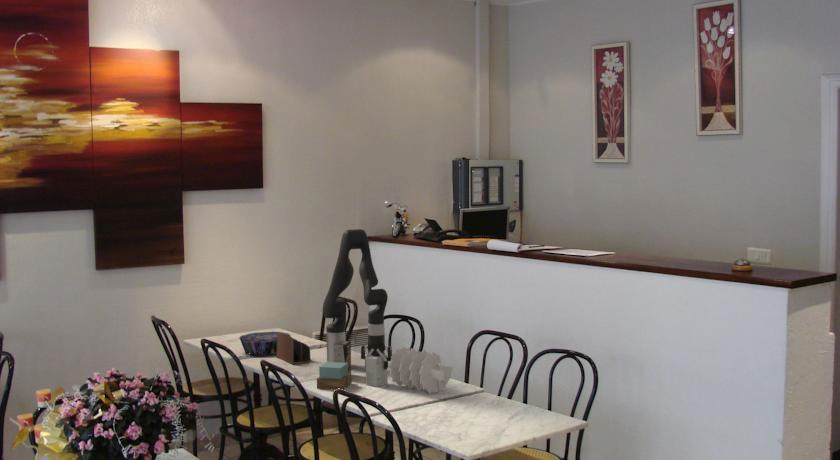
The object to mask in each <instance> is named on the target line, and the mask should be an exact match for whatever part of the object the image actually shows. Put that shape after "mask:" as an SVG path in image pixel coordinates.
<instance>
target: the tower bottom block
mask: <svg viewBox="0 0 840 460" xmlns="http://www.w3.org/2000/svg"><path fill="white" fill-rule="evenodd" d="M349 385H352V372H351V373H348V374H347V375H346V376H344V377H343V378H342V379H327V378H319V376H318V377H317V378H316V389H318V390H319V389H321V390H331V389H333V390H332V391H334V389H338V388H340V389H343V390H344V389H346V388H347V387H349Z"/></svg>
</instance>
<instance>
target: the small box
mask: <svg viewBox="0 0 840 460" xmlns="http://www.w3.org/2000/svg"><path fill="white" fill-rule="evenodd" d="M366 356H367V355H366ZM386 356H387V357H388V354H386ZM388 374H389V372H388V368H387V369H386V370H384V359H383V358H382V357H381V356H376V355H375V356H373V355H371V356H369V357H368V356H367V357H366V367H365V378H366V379H365V381H366V382H365V384H366V386H369V387H370V386H371V387H374V388H377V387H380V386H383V385H386V384H388V382H389V381H388V380H389V379H388V377H389V376H388Z"/></svg>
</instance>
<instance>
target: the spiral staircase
mask: <svg viewBox="0 0 840 460" xmlns="http://www.w3.org/2000/svg"><path fill="white" fill-rule="evenodd" d="M441 362H442V360H441V356H440V354H439V353H438V354H437V353H435V352H434V351H432V353H431V352H428V351H426V349H422V351H419V349H414V348H412V347H410V348H406V347H405V345H402V347H400V348H395V352H394V353H392V356H391V360H390V363H389V364H388V369H390V372H389V377H390V378H392V383H396V384H397V385H398V386H399V387H401V386H404V387H405V386H406V387H407V388H408V389H410V390H412V389H414V388H416V389H417V391H420V390H424V391H427V393H428V394H432V393H439V391H442V390H443V389H444V388H446V385H447V384H449V383H448V382H449V381H450V379H451V378H452V377H451V375H452V371H453V367H451V366H446V365H440V364H441Z"/></svg>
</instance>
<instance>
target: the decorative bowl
mask: <svg viewBox="0 0 840 460" xmlns="http://www.w3.org/2000/svg"><path fill="white" fill-rule="evenodd" d="M277 333H285V334H287V335H289V336H291V334H290V333H289V332H284V331H264V332H263V331H262V332H260V331H259V332H251V333H247V334H243V335H241V336H239V340H240V343H241V346H242V348H243V350H244V353H245V352H247V353H246V354H248V353H250V354H255V355H254V356H257V355H258V356H268V355H277ZM291 337H292V336H291ZM250 354H249V355H250Z"/></svg>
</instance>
